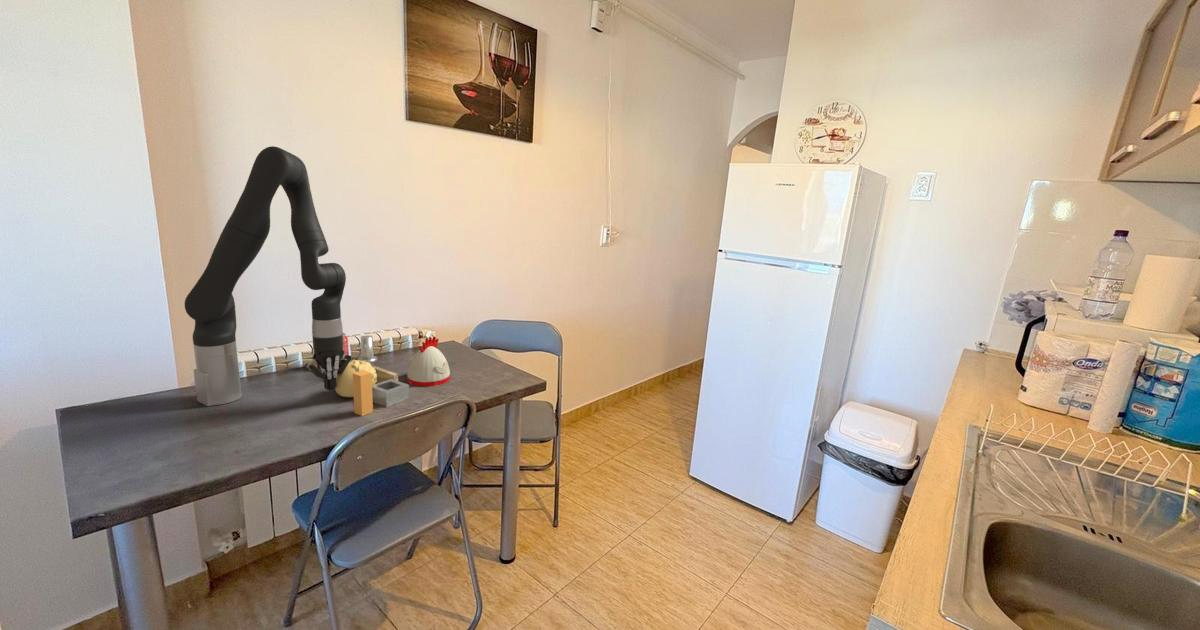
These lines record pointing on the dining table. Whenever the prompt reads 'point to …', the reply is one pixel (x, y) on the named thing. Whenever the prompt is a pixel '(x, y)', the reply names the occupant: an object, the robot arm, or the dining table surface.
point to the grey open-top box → (390, 392)
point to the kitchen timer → (428, 366)
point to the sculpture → (346, 377)
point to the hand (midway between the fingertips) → (330, 389)
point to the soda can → (345, 344)
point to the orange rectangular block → (362, 392)
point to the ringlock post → (367, 350)
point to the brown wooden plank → (384, 375)
